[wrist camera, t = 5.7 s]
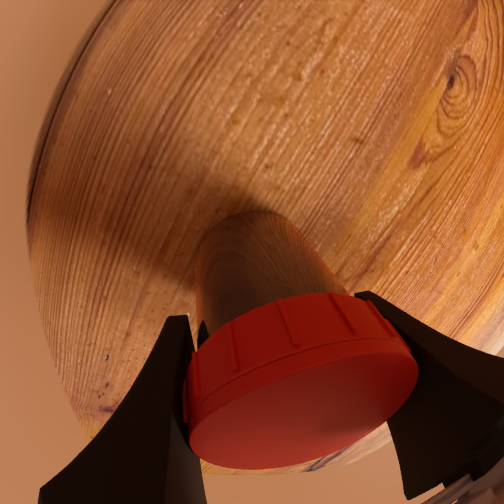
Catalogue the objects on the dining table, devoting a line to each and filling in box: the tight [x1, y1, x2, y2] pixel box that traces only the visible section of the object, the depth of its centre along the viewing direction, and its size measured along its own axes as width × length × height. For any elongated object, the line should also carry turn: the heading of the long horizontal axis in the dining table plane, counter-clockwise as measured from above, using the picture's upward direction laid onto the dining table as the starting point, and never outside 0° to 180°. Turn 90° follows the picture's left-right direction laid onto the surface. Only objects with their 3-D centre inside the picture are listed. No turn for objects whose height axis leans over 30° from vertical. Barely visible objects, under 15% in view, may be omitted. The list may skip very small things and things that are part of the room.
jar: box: [195, 211, 350, 349], centre depth 9 cm, size 5×5×8 cm
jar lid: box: [183, 292, 418, 470], centre depth 6 cm, size 6×6×2 cm
